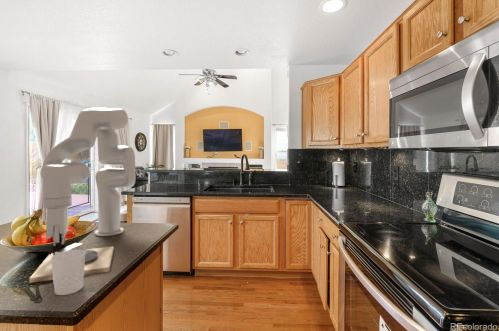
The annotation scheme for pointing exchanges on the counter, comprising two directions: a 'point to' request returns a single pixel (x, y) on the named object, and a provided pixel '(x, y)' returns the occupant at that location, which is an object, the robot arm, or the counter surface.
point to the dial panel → (95, 266)
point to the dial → (89, 254)
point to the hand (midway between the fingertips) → (59, 255)
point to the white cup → (68, 271)
